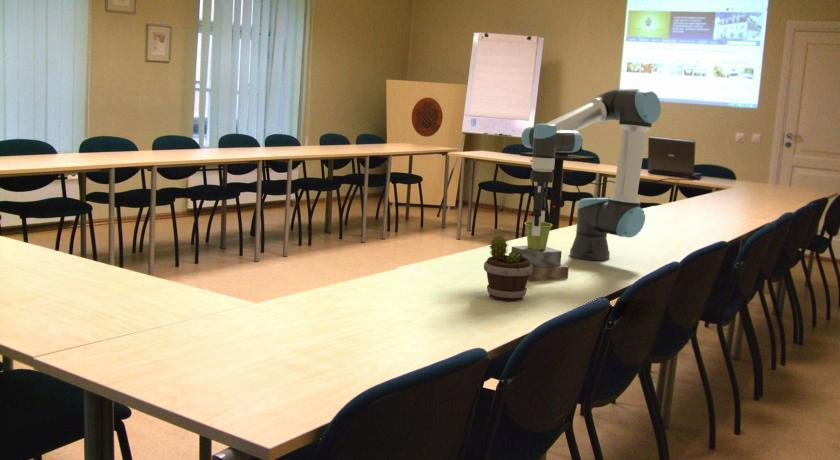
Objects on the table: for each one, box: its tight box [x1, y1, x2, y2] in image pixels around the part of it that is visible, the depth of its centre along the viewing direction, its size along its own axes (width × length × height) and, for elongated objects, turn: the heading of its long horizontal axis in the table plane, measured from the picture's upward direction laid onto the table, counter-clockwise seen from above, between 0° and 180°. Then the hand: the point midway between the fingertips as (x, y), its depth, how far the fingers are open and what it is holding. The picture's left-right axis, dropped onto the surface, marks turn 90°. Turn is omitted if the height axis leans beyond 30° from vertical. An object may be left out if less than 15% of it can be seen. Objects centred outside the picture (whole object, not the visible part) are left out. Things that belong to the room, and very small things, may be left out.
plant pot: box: [524, 221, 553, 250], centre depth 279 cm, size 9×9×9 cm
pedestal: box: [511, 245, 570, 282], centre depth 281 cm, size 16×16×9 cm
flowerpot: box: [483, 231, 533, 302], centre depth 246 cm, size 14×15×20 cm
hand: (537, 232), depth 279 cm, fingers open, 13 cm apart
